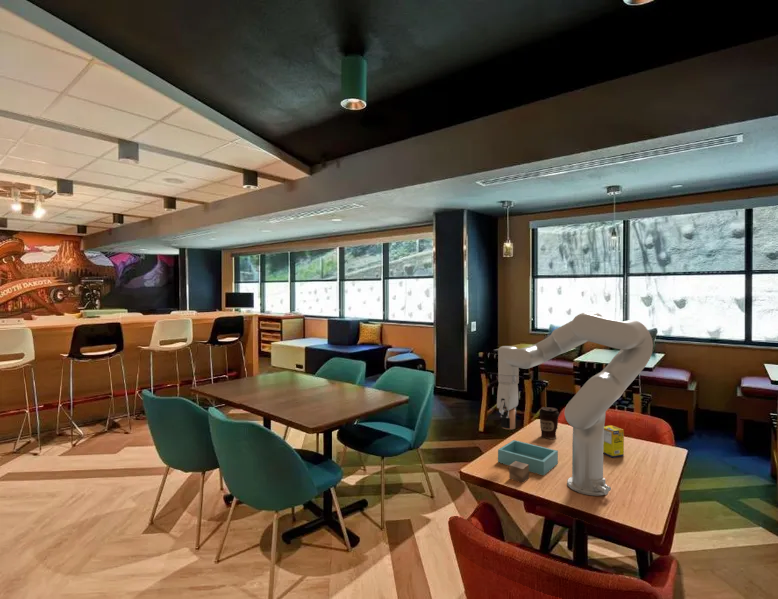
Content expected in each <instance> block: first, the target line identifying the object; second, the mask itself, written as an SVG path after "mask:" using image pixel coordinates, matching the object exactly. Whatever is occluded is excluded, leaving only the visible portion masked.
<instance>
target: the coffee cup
mask: <svg viewBox="0 0 778 599" xmlns="http://www.w3.org/2000/svg"><path fill="white" fill-rule="evenodd" d="M538 413H539V422H540V423H539V424H540V426H539V427H540V432H541V437H542V438H545V439H548V440H555V439H557V435H556V433H557V429H558V425H559V416H560V412H559V409H558V408H556V407H549V406H548V407H544V406H543V407H541V408H540V410H539V412H538Z"/></svg>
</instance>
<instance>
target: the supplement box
mask: <svg viewBox="0 0 778 599" xmlns="http://www.w3.org/2000/svg"><path fill="white" fill-rule="evenodd" d="M624 430H625V429H623V428H620V427H618V426H615V425H611V424H610V425H604V444H603V453H604V454H603V455H605V454H606V455H605V456H608V457H611V458H613V459H614V458H615V459H616V458H620V457H624V455H625V454H624V450H625V449H624V448H625V446H624V445H625V444H624V443H625V431H624Z"/></svg>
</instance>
